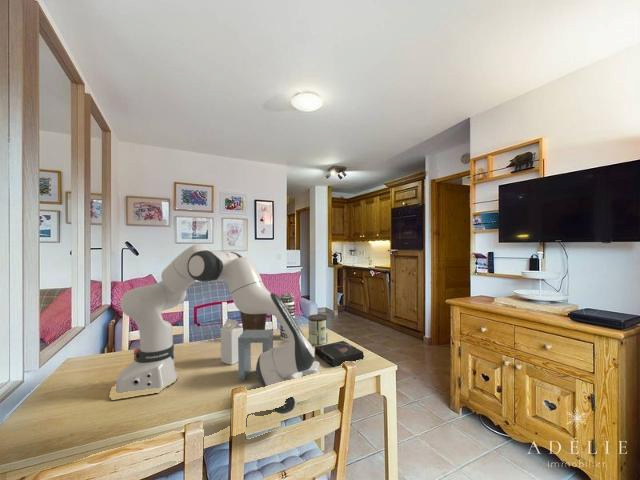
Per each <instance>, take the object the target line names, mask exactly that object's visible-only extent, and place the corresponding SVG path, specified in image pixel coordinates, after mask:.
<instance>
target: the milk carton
mask: <svg viewBox="0 0 640 480" xmlns="http://www.w3.org/2000/svg"><path fill="white" fill-rule="evenodd" d="M242 333H243V327H242V325H240V324H239V323H238V320H234V319H229V318H226V321H225V323H224V324H223V325H222V326H221V328H220V361H221V363H224V364H227V365H231V366H232V365H235V364H237V363H238V337H239V336H240V335H241V334H242Z"/></svg>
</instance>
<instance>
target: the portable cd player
mask: <svg viewBox="0 0 640 480" xmlns="http://www.w3.org/2000/svg"><path fill="white" fill-rule="evenodd" d="M314 354H315V356H316V357H318V358H320V360H322V361H324V362H325V363H326V364H327V365H329V367H331V368H337V367H340V366H342V365H341V364H342V363H343V362H345V361H355V362H357V361H356V360H359V359H362V360H364V359H363V358H365V355H364V352H363V351H362V350H360V349H359V348H357V347H355V346H354V345H352V344H350V343H348V342H346V341H345V340H340V341H337V342H336V341H335V342H331V343H327V344H326V345H322V346H314ZM359 361H360V360H359Z"/></svg>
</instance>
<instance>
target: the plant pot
mask: <svg viewBox="0 0 640 480" xmlns="http://www.w3.org/2000/svg"><path fill="white" fill-rule="evenodd" d="M238 310H239V309H238ZM239 312H240V318H241V326H242V327H243V332H244V331H245V330H266V322H267V316H268V314H246V313H243V312H241V311H240V310H239Z"/></svg>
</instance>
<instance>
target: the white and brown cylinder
mask: <svg viewBox="0 0 640 480" xmlns="http://www.w3.org/2000/svg"><path fill="white" fill-rule="evenodd" d="M279 297H280V298H281V300H282V301H283V303H284V304H285V306H286V307H287V309H288V310H289V312H290V313H291V315H292V317H293V318H294V319H295V316H296V314H295V312H296V308H295V307H296V304H295V295H294V294H293V293H291V292H284V293H282V294H281V295H280V296H279ZM279 330H280V331H279V334H280V335H279V336H280V337H279V338H280V340H283V341H289V337H288V335H287V334H286V332H285V330H284V329H283V327H282V325H281V324H280V326H279Z"/></svg>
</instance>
